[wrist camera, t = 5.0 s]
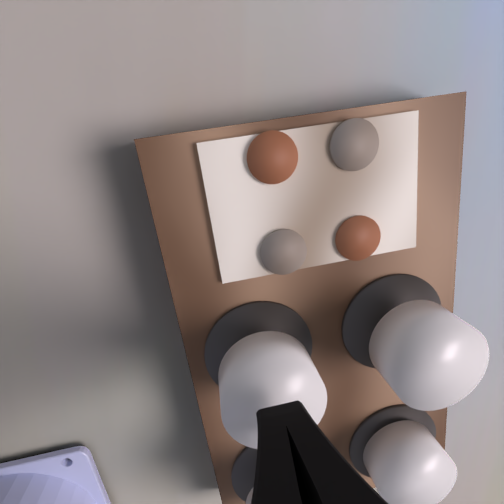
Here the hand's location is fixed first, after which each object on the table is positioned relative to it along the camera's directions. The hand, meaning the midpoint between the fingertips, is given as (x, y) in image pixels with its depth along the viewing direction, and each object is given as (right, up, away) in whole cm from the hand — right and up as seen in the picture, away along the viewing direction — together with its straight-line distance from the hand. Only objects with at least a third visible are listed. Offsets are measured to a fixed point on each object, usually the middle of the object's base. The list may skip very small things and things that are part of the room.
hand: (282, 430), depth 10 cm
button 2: (+5, +2, +3) cm, 7 cm away
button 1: (0, +1, +3) cm, 3 cm away
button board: (+2, +2, +6) cm, 7 cm away
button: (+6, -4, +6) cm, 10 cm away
